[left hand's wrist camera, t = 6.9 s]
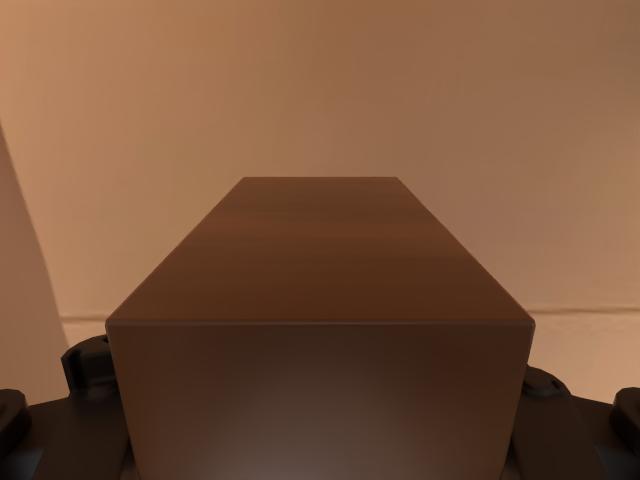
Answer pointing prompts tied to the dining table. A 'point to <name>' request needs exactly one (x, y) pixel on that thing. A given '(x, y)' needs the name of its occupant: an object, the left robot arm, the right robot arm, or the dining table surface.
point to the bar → (320, 343)
